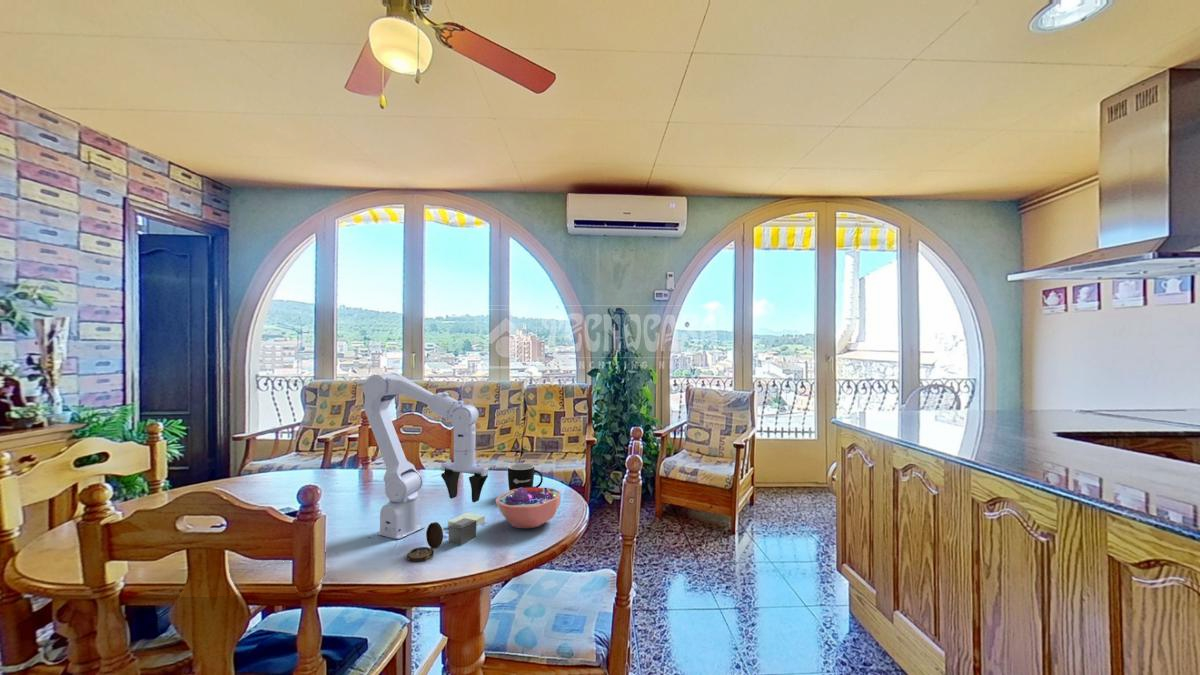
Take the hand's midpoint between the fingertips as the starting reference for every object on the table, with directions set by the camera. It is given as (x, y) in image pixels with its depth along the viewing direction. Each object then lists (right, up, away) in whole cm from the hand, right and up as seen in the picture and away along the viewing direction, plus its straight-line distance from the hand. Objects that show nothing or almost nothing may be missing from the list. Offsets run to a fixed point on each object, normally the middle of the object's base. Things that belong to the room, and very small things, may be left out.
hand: (464, 499), depth 132 cm
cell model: (+17, -10, +8) cm, 21 cm away
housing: (+1, -10, -4) cm, 10 cm away
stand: (-1, -10, +7) cm, 12 cm away
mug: (+11, -10, +34) cm, 37 cm away
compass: (-6, -10, -14) cm, 18 cm away
